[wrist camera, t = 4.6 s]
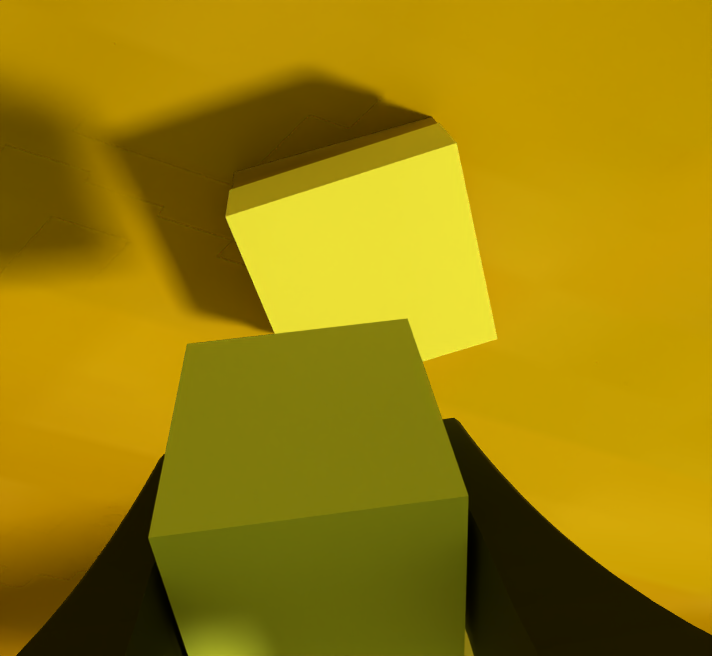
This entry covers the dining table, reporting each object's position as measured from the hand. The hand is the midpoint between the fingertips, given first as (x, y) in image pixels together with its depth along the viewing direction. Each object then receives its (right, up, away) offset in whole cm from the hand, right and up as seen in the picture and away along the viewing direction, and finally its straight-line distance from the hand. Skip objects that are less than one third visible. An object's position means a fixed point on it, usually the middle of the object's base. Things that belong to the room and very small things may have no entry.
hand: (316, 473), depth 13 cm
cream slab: (+1, +5, +6) cm, 8 cm away
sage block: (0, +1, +1) cm, 2 cm away
